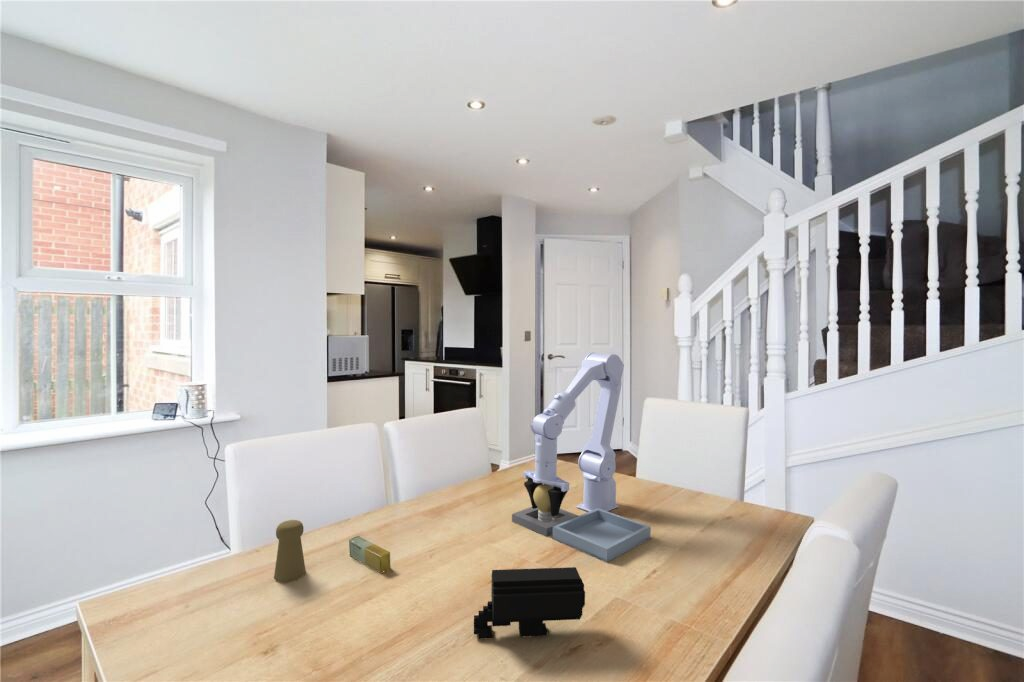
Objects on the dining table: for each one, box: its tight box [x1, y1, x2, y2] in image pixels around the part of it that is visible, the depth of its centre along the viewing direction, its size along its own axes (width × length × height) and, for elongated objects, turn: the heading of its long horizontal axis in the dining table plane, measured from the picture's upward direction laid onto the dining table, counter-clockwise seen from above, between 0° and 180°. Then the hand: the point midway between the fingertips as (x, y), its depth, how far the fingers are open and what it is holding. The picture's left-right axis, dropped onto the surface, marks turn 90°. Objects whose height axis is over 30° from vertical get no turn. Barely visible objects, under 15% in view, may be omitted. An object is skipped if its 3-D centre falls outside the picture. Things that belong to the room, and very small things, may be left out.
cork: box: [273, 519, 307, 583], centre depth 101 cm, size 6×6×11 cm
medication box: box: [348, 535, 392, 574], centre depth 107 cm, size 12×3×4 cm, turn 51°
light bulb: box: [533, 484, 553, 523], centre depth 129 cm, size 6×6×10 cm
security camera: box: [473, 566, 586, 640], centre depth 83 cm, size 7×18×10 cm, turn 95°
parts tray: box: [552, 508, 652, 563], centre depth 120 cm, size 18×16×3 cm
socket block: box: [511, 506, 580, 538], centre depth 129 cm, size 12×12×2 cm
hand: (545, 511), depth 129 cm, fingers closed on light bulb, 6 cm apart
